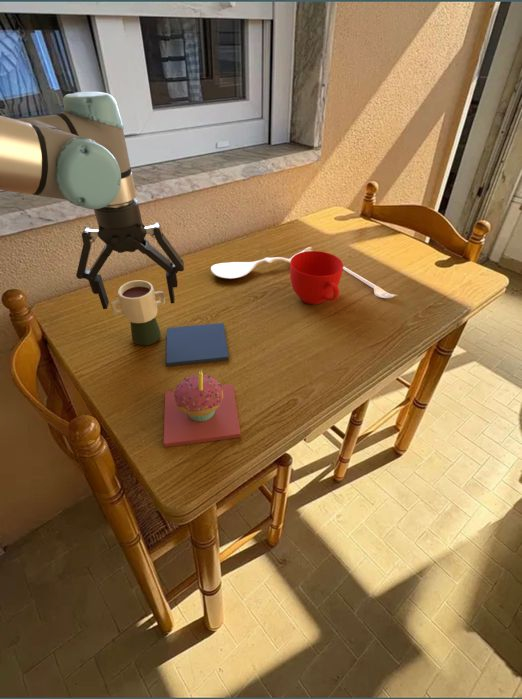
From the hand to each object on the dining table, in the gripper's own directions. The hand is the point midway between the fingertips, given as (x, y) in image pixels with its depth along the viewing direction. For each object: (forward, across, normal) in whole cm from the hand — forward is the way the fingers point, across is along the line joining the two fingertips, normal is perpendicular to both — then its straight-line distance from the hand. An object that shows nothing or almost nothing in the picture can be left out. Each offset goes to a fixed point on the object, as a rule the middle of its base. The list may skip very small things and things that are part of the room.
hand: (139, 302), depth 80 cm
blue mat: (+10, -11, +4) cm, 15 cm away
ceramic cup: (+10, -42, -9) cm, 44 cm away
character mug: (+10, 0, 0) cm, 10 cm away
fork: (+10, -58, -15) cm, 60 cm away
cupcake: (+9, -11, +24) cm, 28 cm away
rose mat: (+10, -11, +24) cm, 28 cm away
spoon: (+10, -32, -27) cm, 43 cm away
